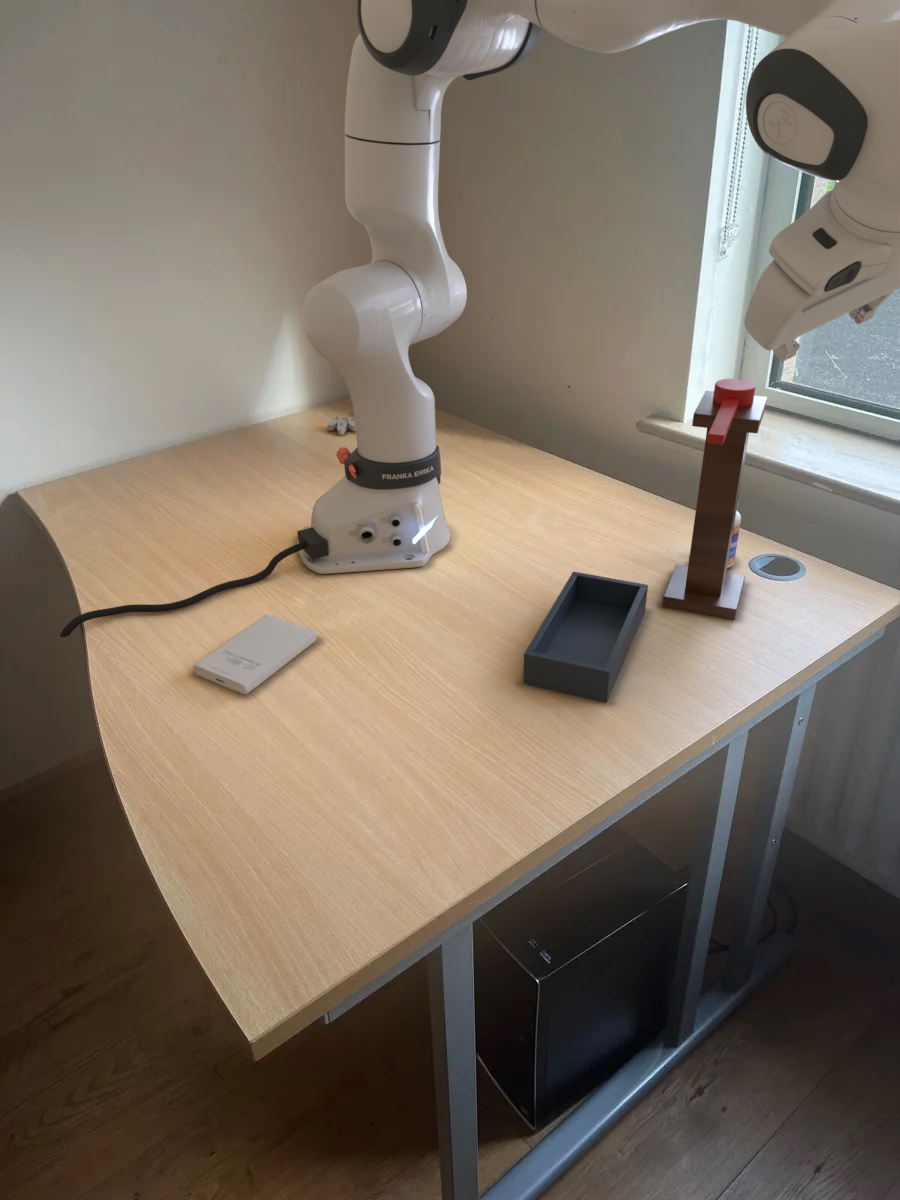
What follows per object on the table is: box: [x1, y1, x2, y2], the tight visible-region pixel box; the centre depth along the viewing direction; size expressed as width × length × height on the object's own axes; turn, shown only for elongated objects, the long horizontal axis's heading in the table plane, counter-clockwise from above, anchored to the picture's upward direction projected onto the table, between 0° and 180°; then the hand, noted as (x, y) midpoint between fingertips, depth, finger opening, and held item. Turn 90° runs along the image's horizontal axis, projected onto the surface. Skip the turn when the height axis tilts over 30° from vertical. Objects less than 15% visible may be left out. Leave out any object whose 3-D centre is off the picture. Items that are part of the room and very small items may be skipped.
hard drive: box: [192, 614, 318, 695], centre depth 102 cm, size 2×8×12 cm
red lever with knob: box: [707, 378, 756, 445], centre depth 93 cm, size 16×4×2 cm, turn 157°
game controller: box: [327, 412, 356, 436], centre depth 169 cm, size 6×12×3 cm, turn 12°
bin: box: [522, 571, 649, 703], centre depth 102 cm, size 20×10×4 cm, turn 157°
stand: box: [661, 390, 768, 620], centre depth 105 cm, size 10×9×26 cm
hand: (821, 335), depth 87 cm, fingers open, 8 cm apart
